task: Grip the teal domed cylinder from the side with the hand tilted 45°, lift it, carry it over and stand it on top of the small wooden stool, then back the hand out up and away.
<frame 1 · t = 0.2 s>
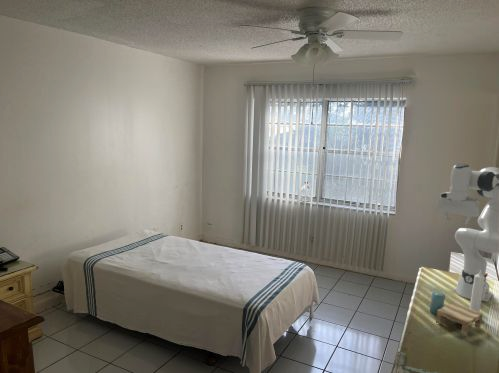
hand: (456, 222, 197), 47 cm above the dresser, tool pointing down, fingers open, 8 cm apart
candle: (473, 316, 196), on the dresser
small wooden stool: (458, 325, 186), on the dresser
teal domed cylinder: (436, 312, 199), on the dresser
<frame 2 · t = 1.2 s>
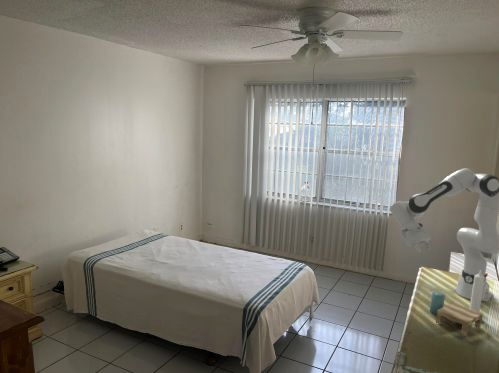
hand: (425, 250, 204), 30 cm above the dresser, tool tilted 45°, fingers open, 8 cm apart
nothing on the dresser moved.
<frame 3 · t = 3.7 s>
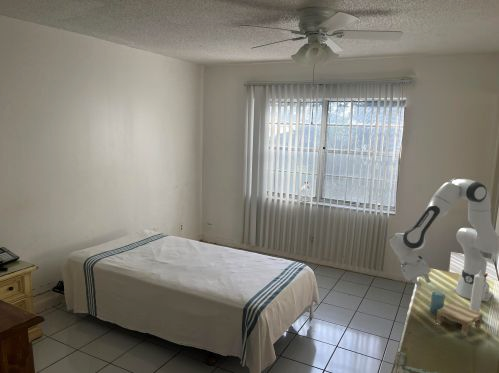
hand: (424, 284, 203), 12 cm above the dresser, tool tilted 45°, fingers open, 8 cm apart
nothing on the dresser moved.
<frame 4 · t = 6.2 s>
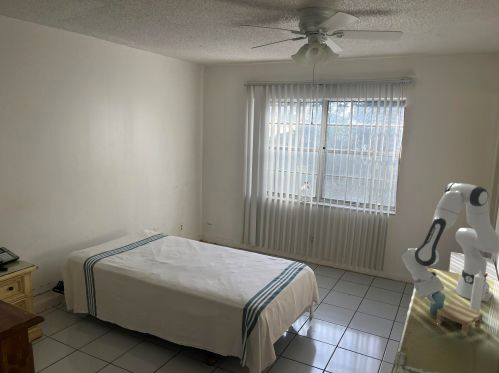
hand: (438, 302, 197), 6 cm above the dresser, tool tilted 45°, fingers closed on teal domed cylinder, 6 cm apart
teal domed cylinder: (436, 312, 199), on the dresser, touching gripper
everything else where it was.
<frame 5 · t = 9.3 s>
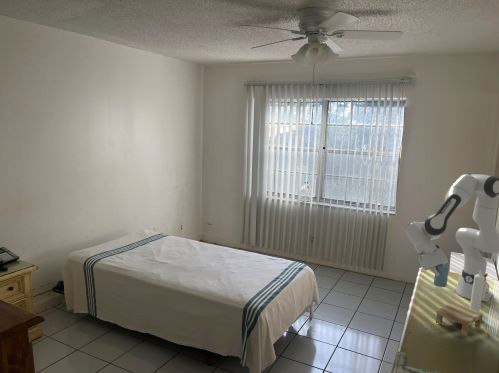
hand: (442, 274, 195), 21 cm above the dresser, tool tilted 45°, fingers closed on teal domed cylinder, 6 cm apart
teal domed cylinder: (439, 284, 197), point 15 cm above the dresser, touching gripper
everything else where it was.
when the fingers open (14 cm above the dresser, at t = 12.8 s): teal domed cylinder drops 1 cm, resting on small wooden stool.
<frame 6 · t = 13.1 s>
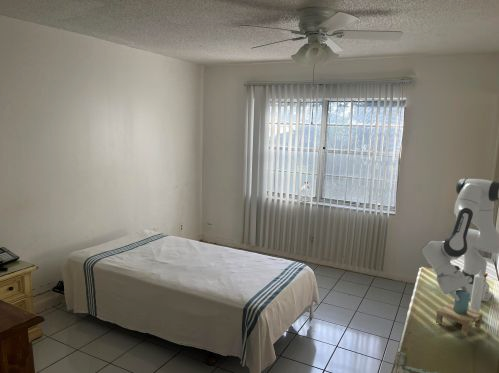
hand: (463, 298, 184), 14 cm above the dresser, tool tilted 45°, fingers open, 8 cm apart
teal domed cylinder: (460, 311, 185), point 7 cm above the dresser, touching small wooden stool
everything else where it was.
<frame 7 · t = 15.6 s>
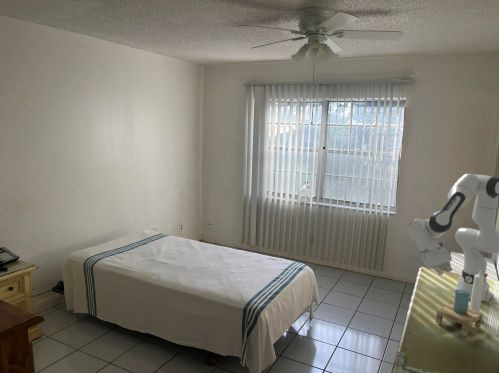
hand: (446, 272, 190), 24 cm above the dresser, tool tilted 45°, fingers open, 8 cm apart
nothing on the dresser moved.
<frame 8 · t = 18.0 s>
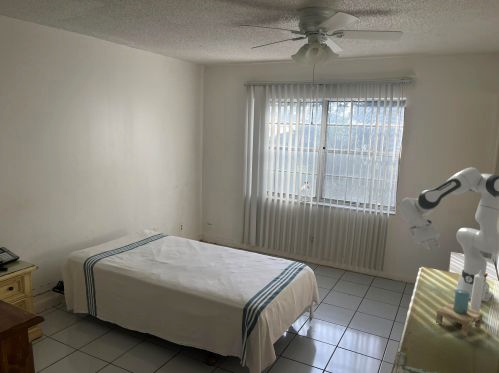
hand: (434, 247, 198), 33 cm above the dresser, tool tilted 45°, fingers open, 8 cm apart
nothing on the dresser moved.
at the end: teal domed cylinder inside the target area (0.1 cm from its centre), point 7.1 cm above the dresser; teal domed cylinder tilted 1°; the gripper is holding nothing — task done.
